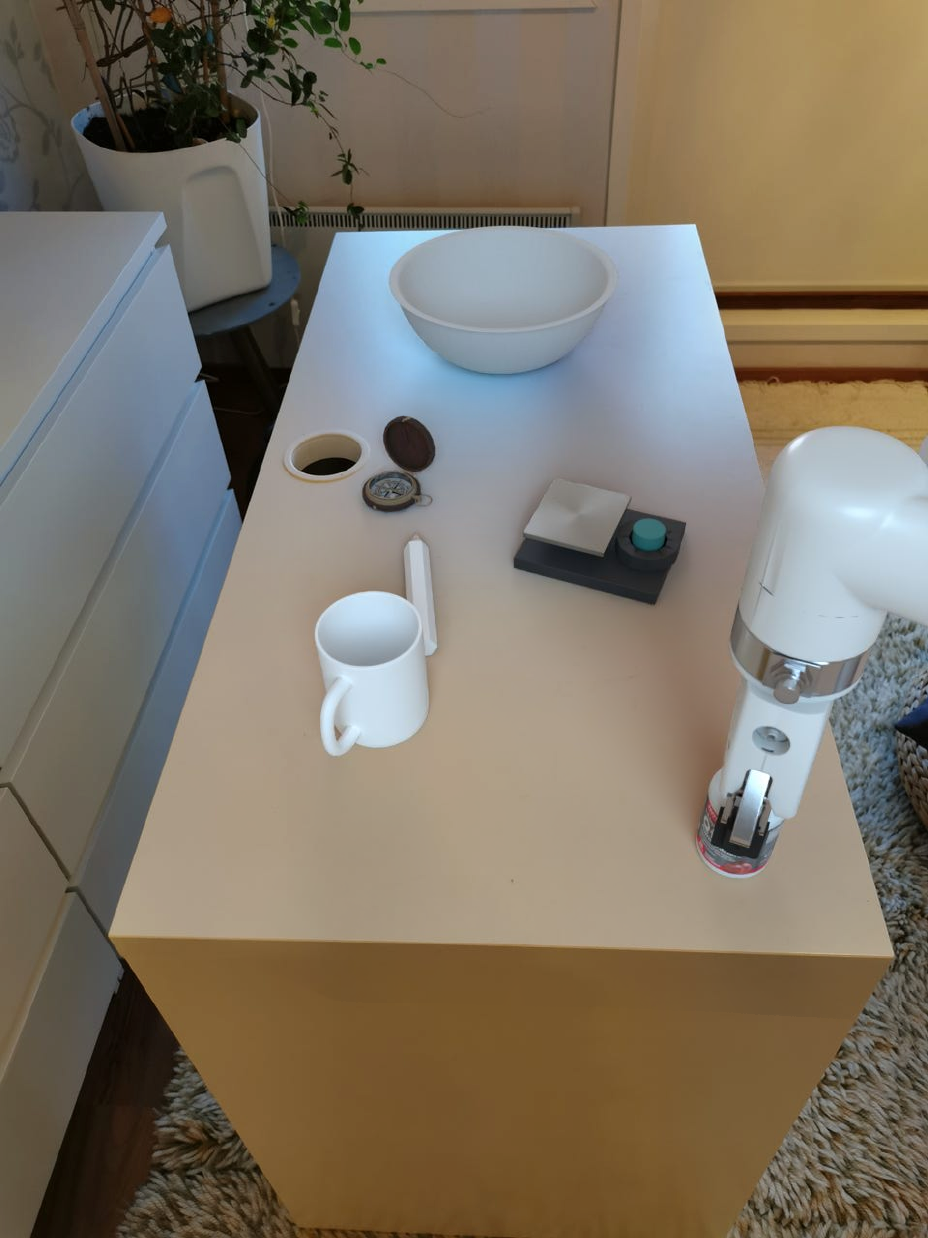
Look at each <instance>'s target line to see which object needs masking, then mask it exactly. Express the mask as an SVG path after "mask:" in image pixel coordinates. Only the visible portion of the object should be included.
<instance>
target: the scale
mask: <svg viewBox="0 0 928 1238" xmlns="http://www.w3.org/2000/svg"><path fill="white" fill-rule="evenodd" d="M642 519H655V520H658V521H660V522H661V523H662V524H663V525H664V526H665V528H666V533H665V540H664V544H663V546H662V547H661V548H660V549H658V550H654V551H645V550H641V549H638V548H637V547H636V546H635V545H634V544H633V542H632V536H633V528H634V525H635V523H636V522H638V521H639V520H642ZM686 527H687V522H685V521H681V520H676V519H673V518H670V517H669V518H668V517H664V516H660V515H656V514H652V513H647V512H645V511H638V510H635V509H630V508H627V510H626V512H625V514H624V516H623V518H622V520H621V523H620V525H619V527H618V529H617V531H616V533H615V535H614V537H613V539H612V541H611V543H610V545H609V547H608V549H607V551H606V554H605V556H604V557H600V556H597V555H593V554H589V553H585V552H581V551H577V550H573V549H569V548H565V547H561V546H557V545H553V544H549V543H545V542H541V541H537V540H533V539H529V538H525V537H524V539H523V541H522V543H521V545H520V546H519V548H518V550H517V552H516V553H515V555H514V557H513V569H516V570H520V571H524V572H526V573H527V572H529V573H531V574H534V575H539V576H543V577H546V578H550V579H554V580H558V581H561V582H565V583H566V582H567V583H569V584H573V585H577V586H580V587H584V588H588V589H591V590H595V591H599V592H604V593H607V594H611V595H614V596H619V597H623V598H626V599H629V600H634V601H637V602H640V603H645V604H648V605H653V606H656V604H657V601H658V599H659V597H660V594H661V592H662V589H663V587H664V584H665V582H666V581H667V577H668V575H669V573H670V570H671V567H672V566H673V565H674V564H676V562H677V559H678V556H679V554H680V549H681V543H682V541H683V538H684V536H685V533H686V529H687V528H686Z"/></svg>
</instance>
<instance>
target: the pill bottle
mask: <svg viewBox="0 0 928 1238" xmlns="http://www.w3.org/2000/svg"><path fill="white" fill-rule="evenodd" d="M721 773H722V767H721V768H720V769H718V771H716V773H715V774H714V775H713V776H712V778H711V781H710V783H709V786H708V790H707V794H706V797H705V801H704V805H703V809H702V812H701V816H700V819H699V823H698V827H697V830H696V836H695V844H696V849H697V853H698V855H699V857H700V858H701V860H702V861H703V862H704V864H705V865H706V866H707V867H708V868H710V869H711V870H712V871H714V872H715V873H717V874H719V875H721V876H724V877H727V878H733V879H748V878H751V877H754V876H756V875H758V874H759V873H760V872H762V871H763V870H764V869H765V868H766V867H767V866H768V863H769V860H770V858H771V856H772V854H773V851H774V848H775V846H776V843H777V841H778V838H779V836H780V833H781V830H782V828H783V825H784V823H785V820H786V819H785V818H781V817H777V816H775V815H774V814H773V811H772V810H771V813H770V816H769V819H768V822H770V825H769V829H768V831H767V834H766V837H765V840H764V842H763V845H762V848H761V851H760V853H759V856H758V858H757V859H751V858H748V857H745V856H743V857H739V856H735V855H732V854H729V853H727V852H725V851H724V850H723V849H721V848H718V847H715V846H713V845H712V844H711V838H712V835H713V831H714V828H715V824H716V821H717V818H718V814H719V811H720V807H721V806H722V807H725V805H726V801H727V798H728V797H726V799H724V798H723V796H722V795H721V793H720V791H719V785H720V779H721ZM746 781H747V780H746ZM741 798H742V797H739V796H737V797H736V800H735V804H734V805H735V806H738V807H739V805H740V802H741ZM762 807H763V804H762ZM762 807H761V810H762ZM733 808H734V807H733ZM761 810H760V813H761ZM760 813H759V816H760Z"/></svg>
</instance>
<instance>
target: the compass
mask: <svg viewBox="0 0 928 1238" xmlns="http://www.w3.org/2000/svg"><path fill="white" fill-rule="evenodd" d="M382 443H383V445H384V449H385V452H386V453H387V455H388V457H389V458H390V459H391V461H392V462H393V463H394V464H395V465H396V466H398V467H399V468H400V469H402V470H401V471H398V470H387V471H383V472H380V473H377V474H376V475H373V476H372V477H369V479H368V480H367V481H366V482H365V483H364V484H363V486H362V491H361V494H362V499H363V501H364V503H365V504H366V505H367V506H368V507H369V508H371V509H374V510H375V511H380V512H383V513H394V512H400V511H404V510H406V509H408V508H410V507H411V506H413V505H415V504H416V505H417V506H419V507H428V506H430V505H431V504H432V503H433V502H434V501H433V498H432V496H431V495H429V494H422V493H421V489H422V488H421V483H420V482H419V480H418V479H417V478H416V477H415V476H414V473H421V472H422V471H425V470H426V469H428V468H429V467H430V466H431V465H432V463H433V462H434V460H435V457H436V444H435V440H434V438H433V436H432V434H431V433H430V431H429V430H428V428H427V427H426V426H425V425H424V424H423V423H422V422H421V421H419V420H418V419H416V418H414V417H412V416H410V415H409V416H408V415H399V416H396V417H395V418H393V419H391V420H390V421H389V422H387V424H386V425H385V427H384V429H383V432H382ZM422 497H428V498H429V499H430V501H429V503H427V504H420V503H418V502H421V501H422Z"/></svg>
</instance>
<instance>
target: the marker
mask: <svg viewBox="0 0 928 1238" xmlns="http://www.w3.org/2000/svg"><path fill="white" fill-rule="evenodd" d="M430 559H431V558H430V548H429V546H428V545H427V544H426V543H425V542H424V541H423V540H421V538H420V536H419V535H418V534H417V531H414V534H413V536H412V538H411V539H410V540H409V541H408V543H407V544H406V545H405V547H404V549H403V562H404V578H405V594H406V595H405V596H406V600H407V601H409V602H410V603H411V604H412V605H413V606H414V607H415V608H416V609H417V611H418V612H419V614H420V616H421V619H422V625H423V636H424V647H425V657H426V656H432V655H433V654H434V652H435V651H436V649H437V648H438V638H437V628H436V627H437V626H436V616H435V602H434V593H433V582H432V581H433V580H432V572H431V571H432V570H431V560H430Z"/></svg>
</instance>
